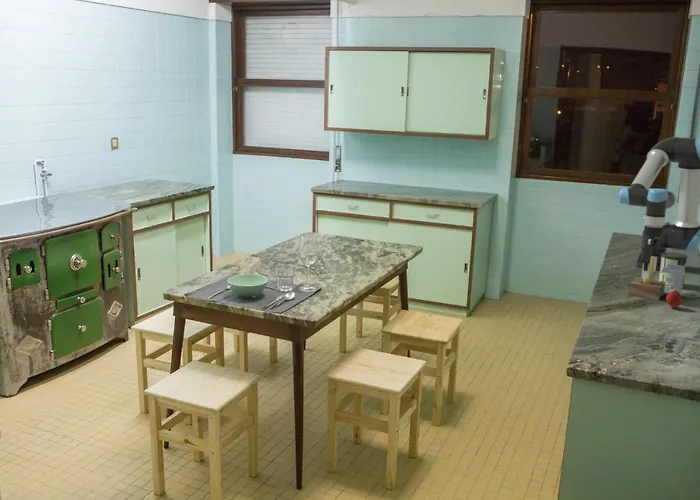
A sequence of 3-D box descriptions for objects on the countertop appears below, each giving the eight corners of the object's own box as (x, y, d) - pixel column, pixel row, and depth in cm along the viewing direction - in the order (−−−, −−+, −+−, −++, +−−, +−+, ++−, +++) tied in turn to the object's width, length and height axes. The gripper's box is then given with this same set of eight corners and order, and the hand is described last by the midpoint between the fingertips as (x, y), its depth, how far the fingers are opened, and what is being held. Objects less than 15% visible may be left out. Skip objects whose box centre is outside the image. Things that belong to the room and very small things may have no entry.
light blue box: (664, 293, 285) (667, 263, 282) (680, 295, 281) (684, 266, 278) (658, 299, 275) (662, 269, 272) (675, 302, 272) (679, 272, 268)
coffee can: (679, 282, 301) (683, 252, 297) (686, 289, 291) (690, 258, 287) (655, 281, 303) (659, 251, 299) (661, 287, 293) (664, 257, 289)
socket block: (634, 288, 291) (635, 277, 290) (664, 293, 285) (665, 281, 284) (628, 294, 282) (629, 283, 281) (658, 299, 275) (659, 288, 274)
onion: (680, 306, 267) (682, 287, 265) (682, 310, 261) (684, 291, 259) (664, 305, 268) (666, 286, 267) (665, 309, 263) (668, 290, 261)
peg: (651, 293, 284) (655, 257, 280) (649, 295, 281) (653, 259, 277) (642, 292, 286) (646, 256, 282) (640, 294, 283) (644, 258, 279)
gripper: (650, 220, 288) (645, 266, 293) (637, 229, 268) (632, 279, 273) (669, 222, 284) (663, 269, 289) (657, 231, 264) (651, 282, 269)
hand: (648, 274), depth 281 cm, fingers open, 13 cm apart
